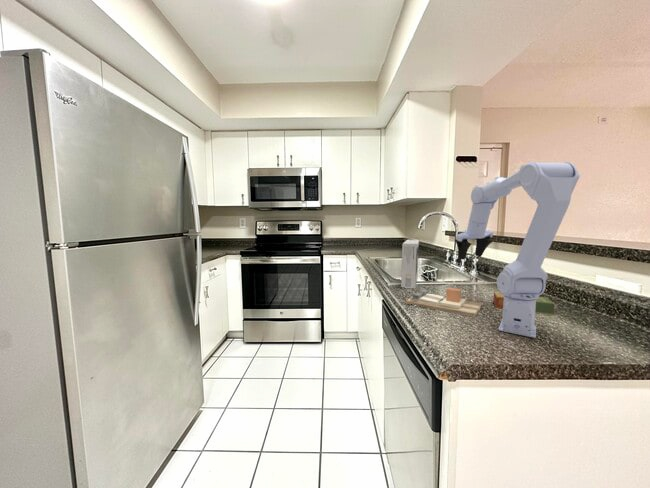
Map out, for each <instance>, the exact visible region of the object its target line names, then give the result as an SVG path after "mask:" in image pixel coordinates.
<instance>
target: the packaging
mask: <svg viewBox="0 0 650 488" xmlns="http://www.w3.org/2000/svg"><path fill="white" fill-rule="evenodd" d="M401 246H402V248H401V249H402V250H401V273H400V274H401V279H400V282H401V283H400V288H401V287H405V288H416V289H417V284H416V282H418V276H419V251H420V240H419V239H407V240H405V241H404V242H403V243H402V245H401Z"/></svg>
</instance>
